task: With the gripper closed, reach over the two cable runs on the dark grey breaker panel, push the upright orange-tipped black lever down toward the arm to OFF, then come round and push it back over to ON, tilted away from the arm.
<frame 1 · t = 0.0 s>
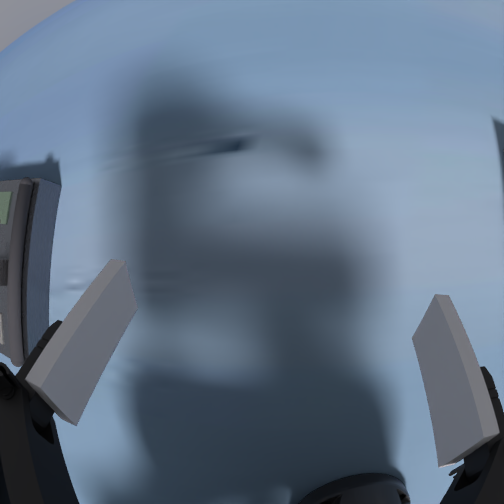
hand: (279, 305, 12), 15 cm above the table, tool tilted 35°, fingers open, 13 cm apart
breaker panel: (13, 267, 30), on the table
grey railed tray: (13, 267, 30), resting on breaker panel
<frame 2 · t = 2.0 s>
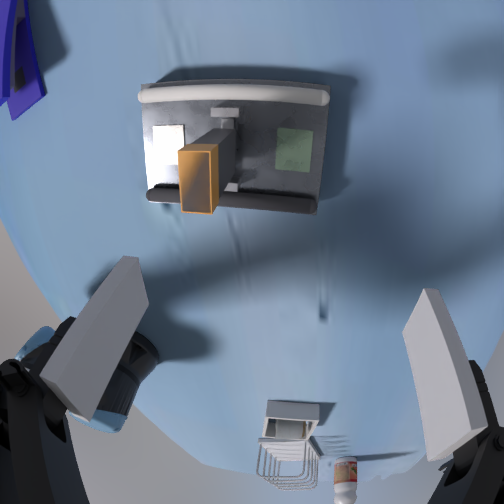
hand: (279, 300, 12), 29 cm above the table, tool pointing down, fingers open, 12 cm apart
stapler: (18, 45, 29), on the table
breaker panel: (235, 138, 36), on the table
lever: (214, 160, 28), point 11 cm above the table, hinge at 0.0°
fruit juice: (345, 458, 96), on the table
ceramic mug: (290, 412, 73), resting in mug tray
file sorter: (291, 447, 90), on the table
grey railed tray: (235, 138, 36), resting on breaker panel
mug tray: (289, 414, 74), on the table
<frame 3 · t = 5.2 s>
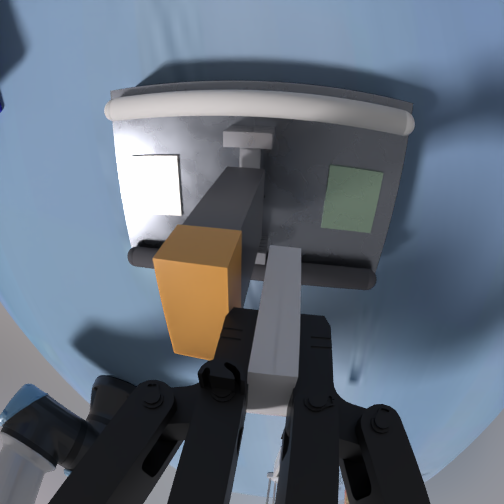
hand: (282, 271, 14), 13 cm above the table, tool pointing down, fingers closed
breaker panel: (257, 172, 25), on the table
lever: (231, 234, 16), point 11 cm above the table, hinge at -1.9°, touching gripper
file sorter: (301, 478, 79), on the table
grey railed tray: (257, 172, 25), resting on breaker panel
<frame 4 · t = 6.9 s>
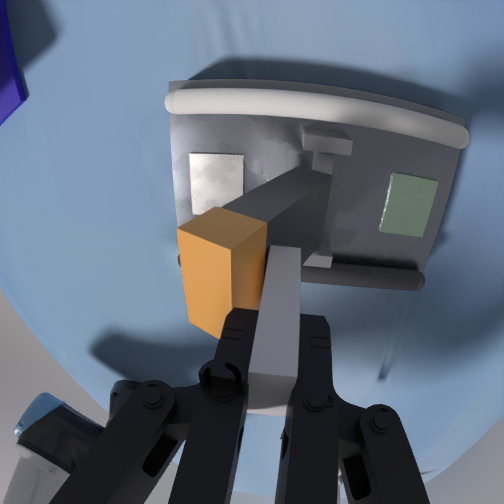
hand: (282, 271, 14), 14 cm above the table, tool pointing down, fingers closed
breaker panel: (313, 176, 25), on the table
lever: (280, 230, 17), point 10 cm above the table, hinge at -26.2°, touching gripper
file sorter: (314, 477, 80), on the table
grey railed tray: (313, 176, 25), resting on breaker panel
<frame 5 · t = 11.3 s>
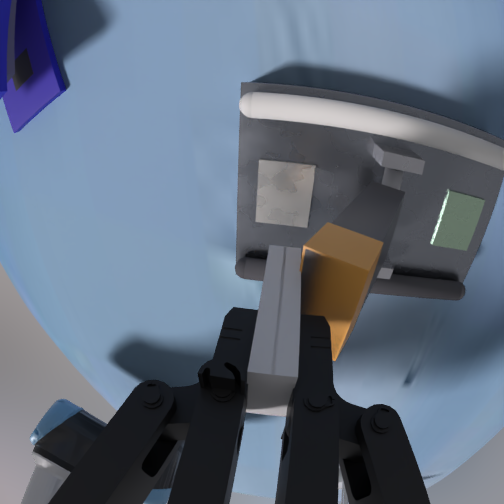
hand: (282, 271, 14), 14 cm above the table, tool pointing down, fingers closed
stapler: (19, 21, 17), on the table
breaker panel: (370, 188, 24), on the table
lever: (365, 245, 16), point 10 cm above the table, hinge at -26.3°, touching gripper
file sorter: (324, 480, 79), on the table
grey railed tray: (370, 188, 24), resting on breaker panel
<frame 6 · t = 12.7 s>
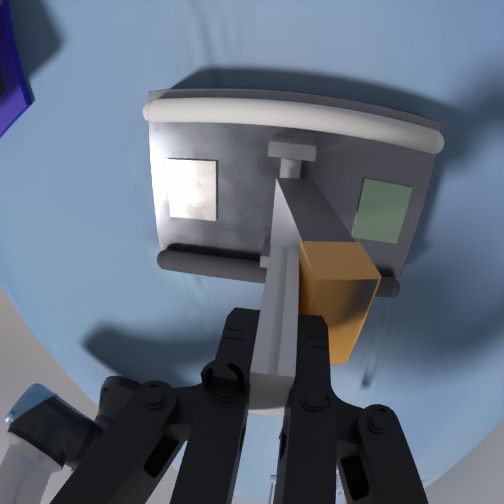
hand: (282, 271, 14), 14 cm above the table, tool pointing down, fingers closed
breaker panel: (289, 181, 26), on the table
lever: (303, 244, 17), point 11 cm above the table, hinge at 12.3°, touching gripper
file sorter: (303, 481, 79), on the table
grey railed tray: (289, 181, 26), resting on breaker panel
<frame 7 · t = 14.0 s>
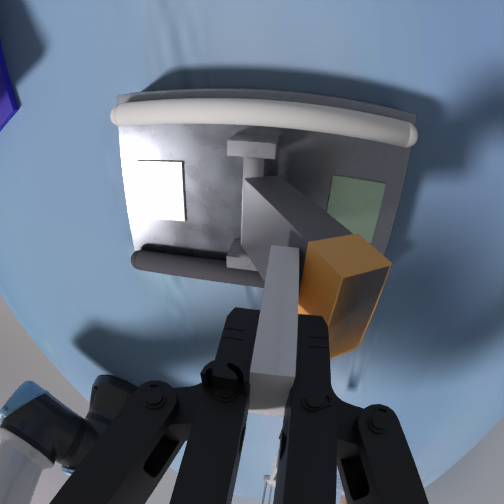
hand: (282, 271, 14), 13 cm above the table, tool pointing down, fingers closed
breaker panel: (260, 180, 25), on the table
lever: (287, 242, 17), point 10 cm above the table, hinge at 29.3°, touching gripper
fruit juice: (352, 489, 84), on the table
file sorter: (298, 482, 79), on the table
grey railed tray: (260, 180, 25), resting on breaker panel
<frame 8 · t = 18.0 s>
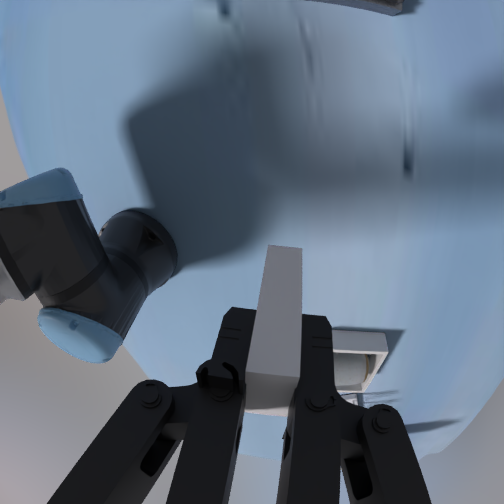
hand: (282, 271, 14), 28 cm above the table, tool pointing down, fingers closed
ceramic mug: (345, 349, 58), resting in mug tray
mug tray: (343, 354, 59), on the table
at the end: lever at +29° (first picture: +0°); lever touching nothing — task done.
